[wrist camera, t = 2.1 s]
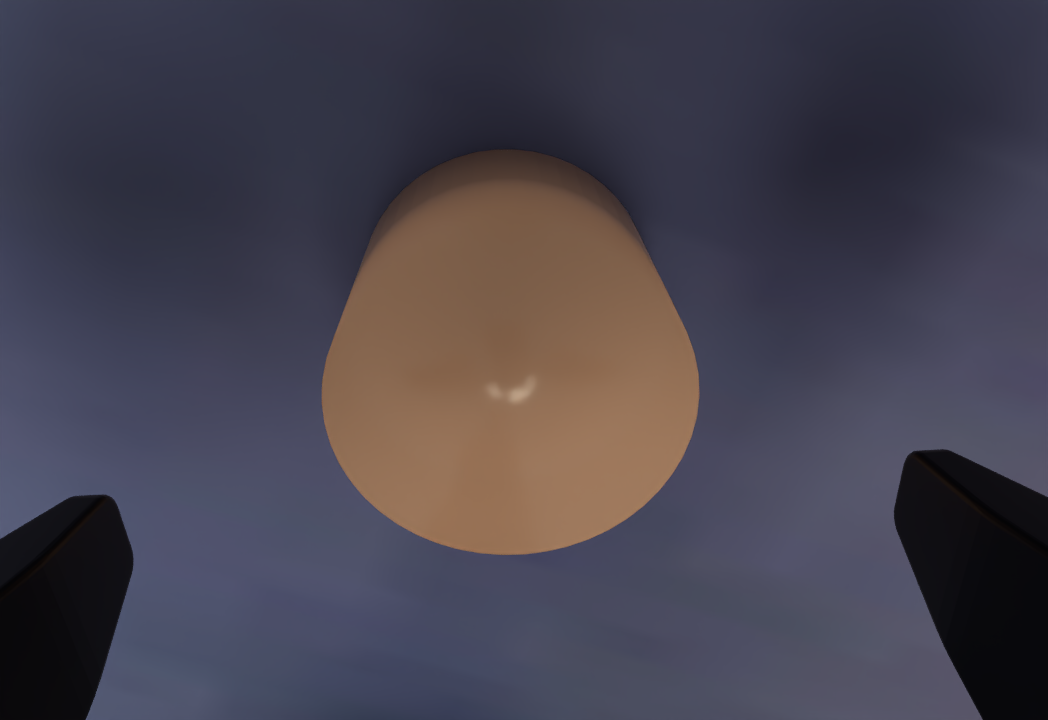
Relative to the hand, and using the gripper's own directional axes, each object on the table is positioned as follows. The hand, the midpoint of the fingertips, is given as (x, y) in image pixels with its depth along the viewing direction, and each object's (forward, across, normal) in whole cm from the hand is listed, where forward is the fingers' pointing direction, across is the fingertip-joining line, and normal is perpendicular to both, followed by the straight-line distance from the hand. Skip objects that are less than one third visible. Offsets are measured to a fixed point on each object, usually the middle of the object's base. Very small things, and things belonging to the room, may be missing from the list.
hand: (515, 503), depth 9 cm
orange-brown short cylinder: (+6, 0, 0) cm, 6 cm away
